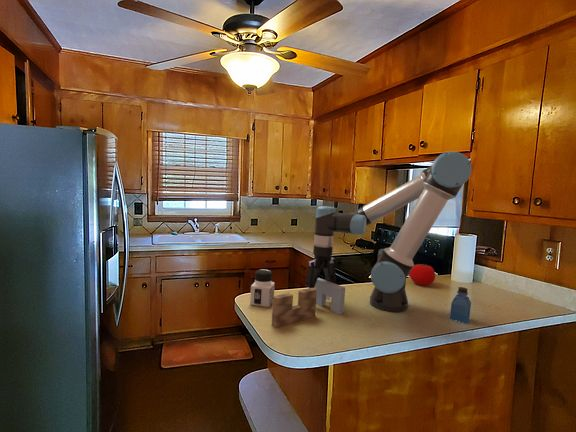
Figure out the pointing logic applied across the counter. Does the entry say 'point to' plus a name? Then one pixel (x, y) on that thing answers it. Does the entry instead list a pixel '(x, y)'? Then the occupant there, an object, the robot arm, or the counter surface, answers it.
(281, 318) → the board
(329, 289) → the arch block
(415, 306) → the counter surface
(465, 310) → the perfume bottle
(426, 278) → the tomato
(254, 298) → the container
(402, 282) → the robot arm
